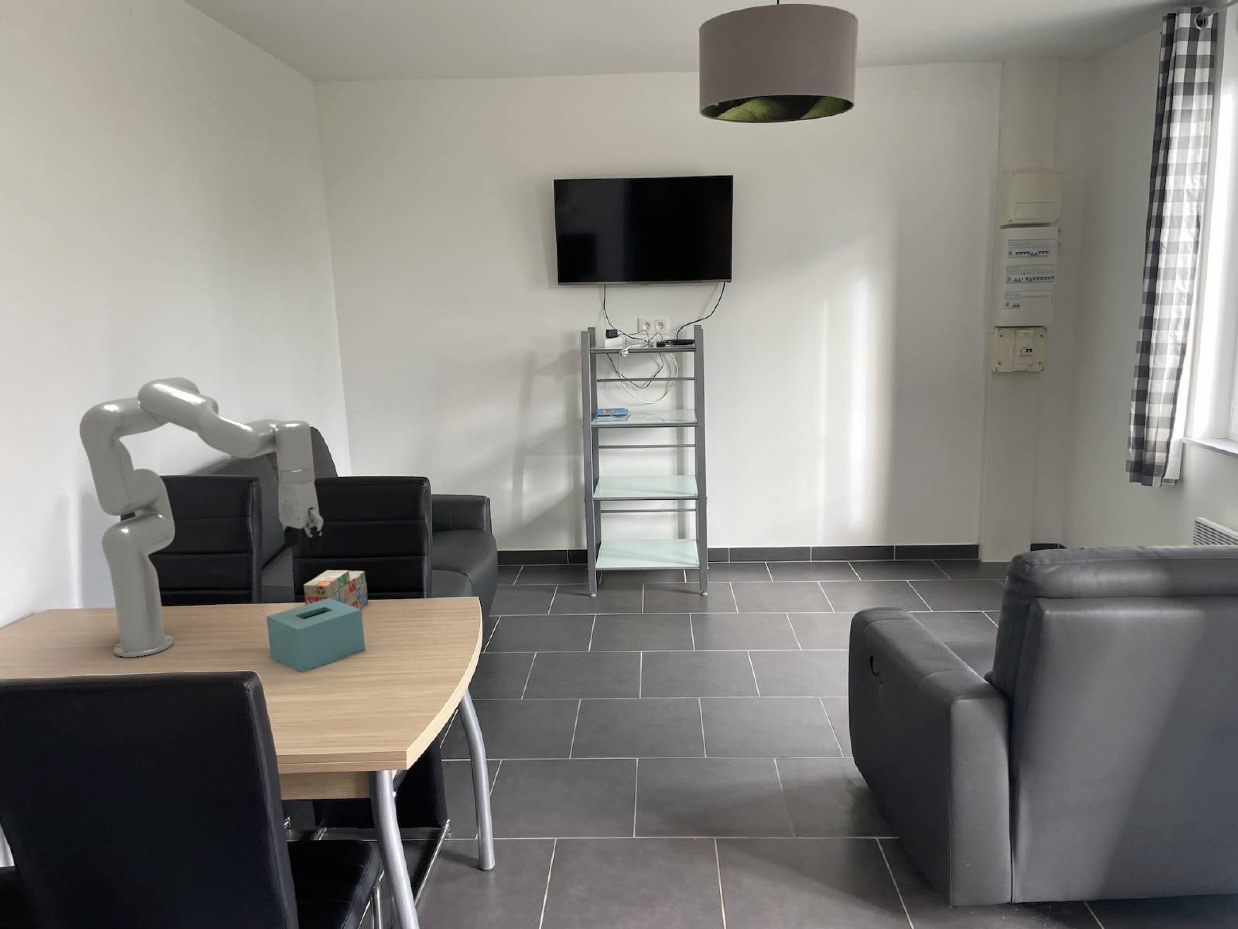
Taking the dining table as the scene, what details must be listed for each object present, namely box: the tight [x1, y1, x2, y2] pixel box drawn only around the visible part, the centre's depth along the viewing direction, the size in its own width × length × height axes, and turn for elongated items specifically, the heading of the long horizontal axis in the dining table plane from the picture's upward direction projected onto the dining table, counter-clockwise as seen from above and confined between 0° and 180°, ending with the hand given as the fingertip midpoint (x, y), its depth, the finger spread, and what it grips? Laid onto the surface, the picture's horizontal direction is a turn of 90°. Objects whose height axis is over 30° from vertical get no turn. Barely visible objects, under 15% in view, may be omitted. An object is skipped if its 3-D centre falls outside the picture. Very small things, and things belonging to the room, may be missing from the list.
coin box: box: [266, 598, 366, 673], centre depth 206 cm, size 14×16×10 cm
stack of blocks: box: [303, 569, 369, 610], centre depth 231 cm, size 21×6×12 cm, turn 171°
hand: (303, 549), depth 202 cm, fingers open, 9 cm apart
